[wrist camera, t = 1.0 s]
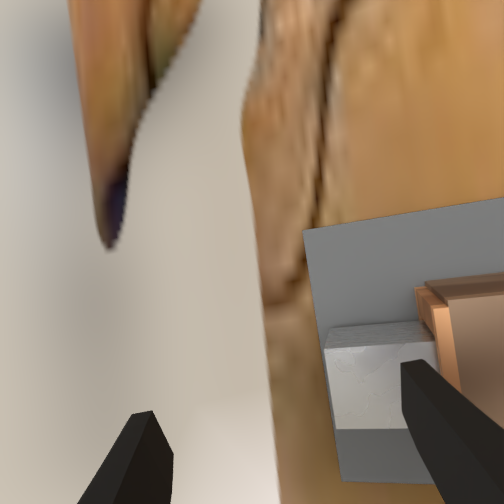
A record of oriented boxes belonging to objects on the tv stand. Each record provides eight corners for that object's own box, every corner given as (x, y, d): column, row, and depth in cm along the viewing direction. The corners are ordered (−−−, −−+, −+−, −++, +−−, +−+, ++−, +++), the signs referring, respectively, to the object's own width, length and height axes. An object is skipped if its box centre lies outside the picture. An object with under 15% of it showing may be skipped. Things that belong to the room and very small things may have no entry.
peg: (495, 388, 20) (527, 427, 16) (340, 394, 22) (336, 428, 18) (484, 314, 20) (513, 335, 16) (330, 328, 22) (323, 349, 18)
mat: (671, 478, 20) (687, 492, 19) (342, 471, 24) (341, 481, 23) (629, 176, 19) (642, 174, 18) (304, 230, 24) (302, 230, 23)
